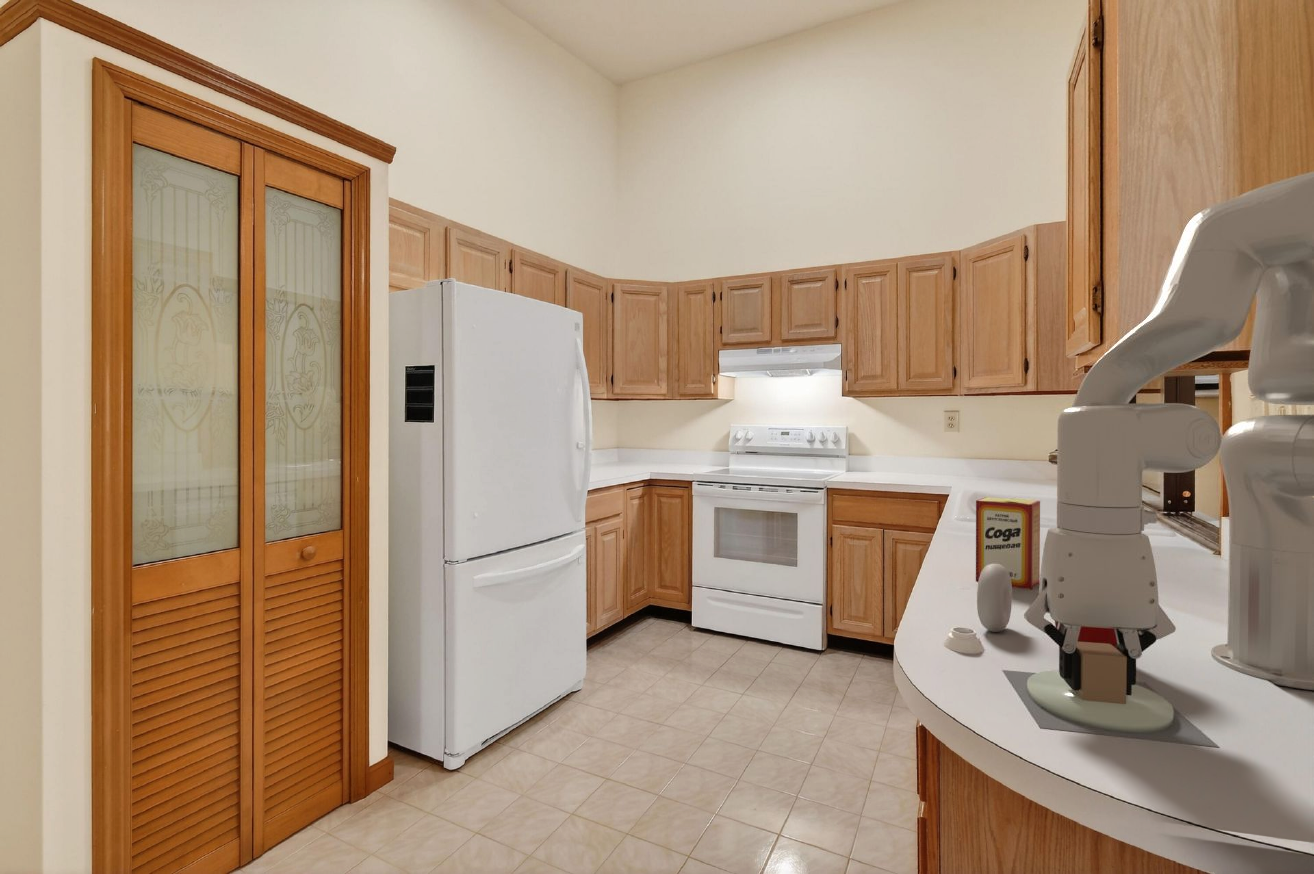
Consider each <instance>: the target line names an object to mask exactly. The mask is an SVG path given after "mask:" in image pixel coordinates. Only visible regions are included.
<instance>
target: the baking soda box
mask: <svg viewBox="0 0 1314 874" xmlns="http://www.w3.org/2000/svg"><path fill="white" fill-rule="evenodd" d="M1040 542H1041V500H1033V499H1025V498H1024V499H1023V498H1022V499H1021V498H1011V497H1010V498H1001V497H988V496H985V497H983V498H980V499H976V500H975V582H979V577H980V574H981V572H982V570H983V569H984V567H985V566H987V565H989V564H1000V565H1002V566H1004V567H1005V568H1006V569H1007V571H1008V573H1009V575H1010V578H1011V584H1012V588H1019V589H1025V590H1030V591H1031V590H1033V589H1034V588H1035V587H1036V586H1038V584H1039V583H1040V573H1041V564H1040V563H1041V554H1040V553H1041V544H1040Z"/></svg>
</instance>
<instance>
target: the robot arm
mask: <svg viewBox="0 0 1314 874" xmlns="http://www.w3.org/2000/svg"><path fill="white" fill-rule="evenodd" d="M1169 263H1170V264H1169V265H1168V269H1167V271H1166V273H1165V275H1164V278H1163V281H1162V283H1161V286H1160V289H1159V291H1158V293H1157V295H1156V299H1155V300H1154V303H1153V306H1152V309H1151V311H1150V312H1149V315H1148V316H1147V318H1146V319H1144V320H1143V321H1142V322H1141V323H1139V324H1138V325H1137V326H1136V327H1134V328H1132V330H1130V331H1129V332H1128V333H1126V335H1124V336H1123V337H1122V338H1121V339H1120V340H1119V341H1117V343H1115V344H1114V345H1113V346H1112V347H1111V348H1110V349H1109V350H1108V351H1107V352H1106V353H1104V354H1103V355H1102V356H1101V357H1100V358H1099V359H1098V360H1097V361H1096V362H1095V363H1094V364H1093V365H1092V367H1090V369H1089V370H1088V372H1087V373H1086V375H1085V376H1084V378H1083V380H1082V381H1081V383H1080V385H1079V388H1078V391H1077V393H1076V395H1075V398H1074V400H1073V403H1072V405H1071V407H1067V408H1065V409H1064V410H1063V411H1061V413H1060V414H1059V415H1058V419H1057V439H1056V441H1057V444H1056V445H1057V450H1056V451H1057V455H1056V457H1057V458H1056V461H1057V463H1056V473H1057V475H1056V476H1057V477H1056V479H1057V480H1056V487H1057V489H1056V497H1057V498H1056V500H1057V501H1056V527H1055V528H1053V527H1051V528H1048V529H1047V533H1046V536H1045V540H1044V544H1043V545H1044V546H1043V551H1042V557H1041V558H1042V559H1041V564H1040V583H1038V584H1039V585H1038V596H1037V597H1036V598H1035V599H1034V601H1033V602H1032V603H1031V604H1030V606H1029V607H1028V609H1027V610H1026V611H1025V612H1024V614H1023V617H1024V619H1025V620H1026V621H1027V622H1028V623H1029V624H1030V625H1032V626H1033V627H1035V628H1036V629H1038V630H1040V631H1041V632H1042V633H1044V634H1046V635H1047V636H1048V637H1049V638H1050V639H1051V640H1052V641H1053V642H1055V644H1056V645H1057V646H1058V648H1059V649H1058V655H1059V656H1058V670H1059V673H1060V676H1061V677H1062V678H1063V679H1064V680H1065V682H1066V683H1067V684H1068V685H1069V686H1070V687H1071V689H1072V690H1076V691H1079V690H1080V689H1081V656H1080V655H1079V654H1078V653H1077V647H1076V645H1077V641H1078V637H1079V633H1080V628H1081V626H1084V627H1098V628H1113V629H1115V634H1116V639H1117V644H1118V645H1117V648H1116V649H1117V650H1118V651H1120V652H1121V653H1122V654H1123V655H1125V656H1126V657H1127V670H1126V695H1130V696H1131V694H1132V685H1135V684H1136V682H1137V659H1140V658H1141V657H1142V655H1143V652H1144V651H1145V650H1147V649H1148V648H1150V647H1151V646H1152V645H1154V643H1156V641H1157V640H1161V639H1164V638H1166V637H1168V636H1169V635H1171V634H1173V633H1175V632H1176V630H1177V629H1176V628H1177V627H1176V626H1175V624H1174V623H1173V621H1172V620H1171V619H1170V618H1169V616H1168V614H1166V612H1165V611H1164V610H1163V608H1162V606H1160V604H1159V590H1158V589H1159V588H1158V587H1159V586H1158V579H1157V569H1156V564H1155V559H1154V553H1153V549H1152V545H1151V542H1150V538H1149V536H1148V535H1147V534H1145V533H1142V532H1143V531H1145V525H1148V524H1156V523H1157V522H1158V513H1157V512H1156V511H1155V510H1148V509H1145V506H1144V505H1143V472H1152V473H1154V472H1155V473H1156V472H1158V473H1168V474H1169V473H1171V474H1172V473H1173V474H1174V473H1175V474H1177V473H1178V474H1179V473H1188V472H1192V471H1195V470H1197V469H1201V468H1202V467H1204V466H1206V465H1207V464H1209V463H1210V462H1211V461H1212V460H1213V459H1214V458H1215V457H1216V455H1217V454H1218V453H1219V461H1220V464H1221V466H1220V467H1221V469H1222V474H1223V478H1224V482H1225V485H1226V493H1227V499H1228V500H1227V501H1228V513H1229V514H1228V516H1229V517H1228V519H1229V521H1228V522H1229V523H1228V524H1229V527H1228V528H1229V529H1228V532H1229V535H1228V581H1227V582H1228V583H1227V585H1228V586H1227V587H1228V589H1227V640H1226V641H1227V643H1224V644H1222V643H1221V644H1218V645H1215V646H1214V647H1212V648H1211V650H1210V653H1211V654H1210V655H1211V658H1212V659H1213V660H1214V661H1216V662H1217V663H1218V664H1220V665H1222V666H1224V667H1226V668H1228V669H1231V670H1233V671H1235V672H1236V671H1237V672H1239V673H1242V674H1245V675H1248V676H1251V677H1255V678H1259V679H1262V680H1266V681H1268V683H1270V684H1274V685H1278V686H1283V687H1288V688H1293V689H1301V690H1309V691H1314V414H1272V415H1271V414H1270V415H1269V414H1267V415H1260V416H1253V417H1250V418H1246V419H1243V420H1240V421H1238V422H1236V423H1235V424H1233V425H1231V426H1230V427H1229V428H1228V429H1226V431H1225V433H1224V434H1223V436H1222V429H1221V428H1220V424H1219V423H1218V421H1217V420H1216V419H1215V417H1213V415H1212V414H1210V413H1209V412H1207V411H1206V410H1204V409H1203V408H1201V407H1198V406H1195V405H1192V404H1189V403H1188V404H1187V403H1186V404H1185V403H1178V402H1174V403H1173V402H1170V403H1169V402H1168V403H1167V402H1163V403H1162V402H1160V403H1143V402H1142V403H1141V402H1140V403H1130V401H1131V400H1132V399H1133V398H1134V397H1135V396H1136V394H1137V393H1138V392H1139V391H1140V390H1141V389H1142V388H1144V387H1145V386H1146V385H1147V384H1149V383H1151V382H1152V381H1153V380H1155V379H1156V378H1158V377H1160V376H1161V375H1164V374H1165V373H1167V372H1168V371H1169V372H1170V371H1171V370H1173V369H1176V368H1178V367H1181V366H1184V365H1186V364H1187V363H1190V362H1192V361H1195V360H1197V359H1199V358H1201V357H1204V356H1206V355H1208V354H1210V353H1212V352H1214V351H1216V350H1219V349H1221V348H1223V347H1225V346H1226V345H1228V344H1230V343H1232V342H1233V341H1235V339H1236V338H1238V337H1239V336H1240V335H1241V333H1242V331H1243V330H1244V328H1245V324H1246V322H1247V319H1248V317H1249V314H1250V310H1251V308H1252V304H1253V302H1254V300H1255V298H1256V306H1255V316H1254V317H1255V318H1254V325H1253V331H1252V337H1251V338H1252V339H1251V346H1250V353H1249V360H1248V368H1247V369H1248V370H1247V384H1248V385H1247V386H1248V388H1249V391H1250V393H1251V395H1252V396H1254V397H1255V398H1256V399H1257V400H1260V401H1262V402H1265V403H1269V404H1274V405H1286V406H1314V171H1311V172H1310V171H1309V172H1307V173H1303V174H1302V173H1301V174H1298V175H1295V176H1291V177H1289V178H1285V179H1281V180H1279V181H1275V182H1271V183H1268V184H1265V185H1263V186H1260V187H1257V188H1254V189H1252V190H1250V191H1246V192H1244V193H1242V194H1240V195H1239V196H1237V197H1234V198H1231V199H1229V200H1225V201H1221V202H1219V203H1216V204H1213V205H1211V206H1208V207H1206V208H1205V209H1203V210H1201V211H1200V212H1199V213H1197V214H1195V215H1194V216H1193V217H1192V219H1191V220H1189V222H1188V223H1187V224H1186V226H1185V228H1184V229H1183V231H1182V234H1181V237H1180V238H1179V241H1178V243H1177V246H1176V248H1175V251H1174V254H1173V256H1172V258H1171V261H1170V262H1169ZM1046 613H1048V614H1049V616H1050V618H1051V619H1052V620H1053V621H1054V622H1055V621H1056V622H1058V626H1057V628H1056V626H1055V624H1053V623H1052V622H1050V621H1049V620H1047V619H1046V618H1045V615H1046Z"/></svg>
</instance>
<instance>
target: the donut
mask: <svg viewBox="0 0 1314 874" xmlns="http://www.w3.org/2000/svg"><path fill="white" fill-rule="evenodd" d="M977 582H978V581H977ZM976 589H977V591H976V610H977V616H978V618H979V621H980V623H981V625H982V626H983V627H984V628H985V629H986V630H988V631H989V632H992V633H998V632H1002V631H1003V630H1005V628H1007V626H1008V624H1009V623H1010V619H1011V616H1012V615H1011V613H1012V608H1013V607H1012V604H1013V587H1012V584H1011V578H1010V575H1009V573H1008V571H1007V569H1006V568H1005V567H1004V566H1002V565H1000V564H989V565H987V566H985V567H984V569H983V570H982V572H981V574H980V577H979V582H978V584H977V588H976Z"/></svg>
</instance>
